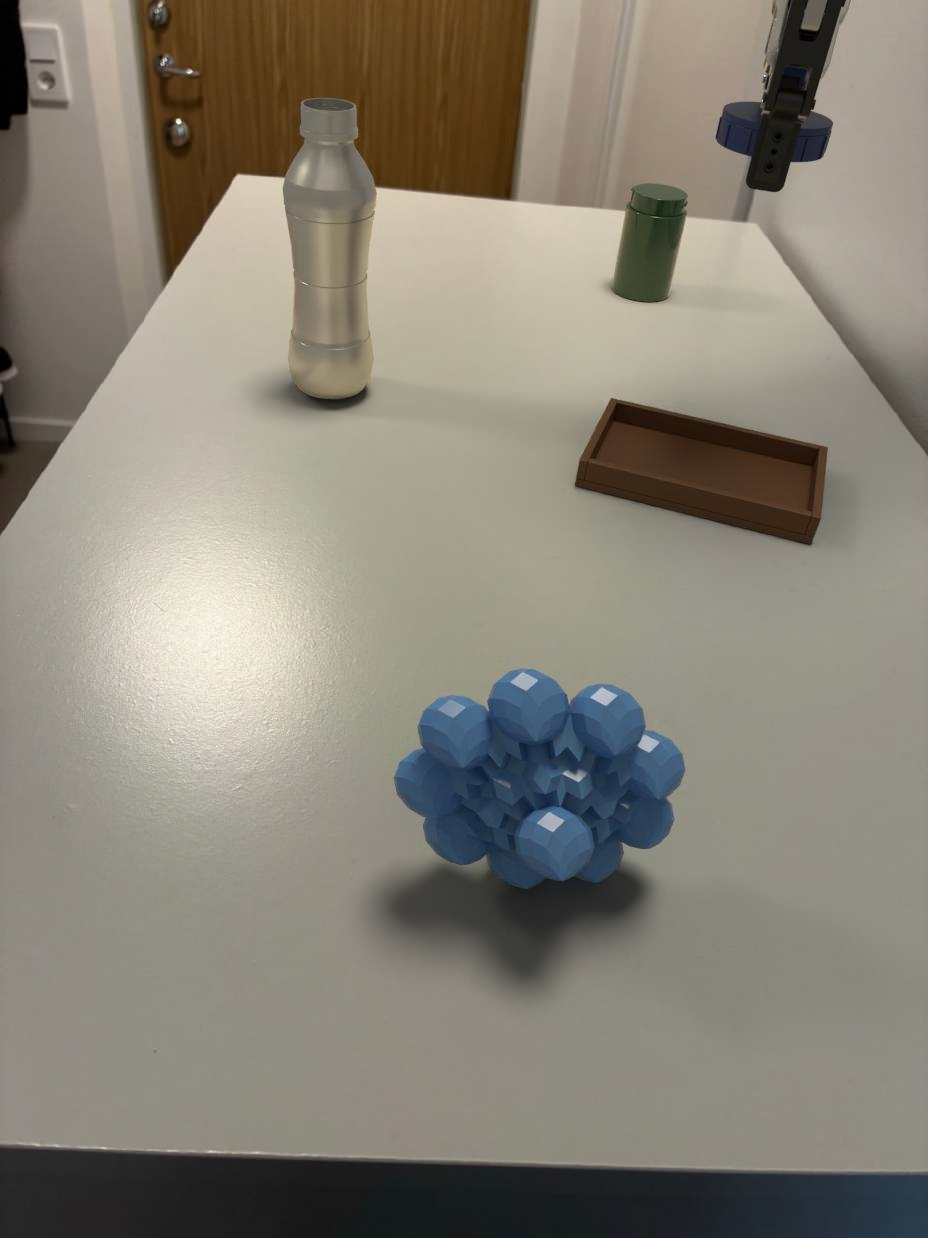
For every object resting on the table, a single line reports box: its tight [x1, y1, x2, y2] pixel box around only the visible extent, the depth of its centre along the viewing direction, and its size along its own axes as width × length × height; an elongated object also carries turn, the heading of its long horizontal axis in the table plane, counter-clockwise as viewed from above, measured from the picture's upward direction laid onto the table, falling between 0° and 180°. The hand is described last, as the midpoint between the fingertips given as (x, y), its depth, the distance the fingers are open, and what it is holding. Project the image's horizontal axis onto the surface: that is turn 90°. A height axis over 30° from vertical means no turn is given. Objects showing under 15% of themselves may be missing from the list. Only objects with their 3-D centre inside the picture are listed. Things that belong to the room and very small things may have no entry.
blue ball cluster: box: [393, 668, 686, 890], centre depth 37 cm, size 12×7×12 cm, turn 95°
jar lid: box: [714, 101, 834, 163], centre depth 57 cm, size 6×6×2 cm
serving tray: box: [574, 397, 829, 545], centre depth 67 cm, size 16×10×2 cm, turn 71°
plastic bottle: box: [282, 97, 378, 400], centre depth 68 cm, size 6×7×20 cm
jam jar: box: [611, 182, 689, 303], centre depth 92 cm, size 6×6×10 cm
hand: (764, 172), depth 58 cm, fingers closed on jar lid, 6 cm apart
